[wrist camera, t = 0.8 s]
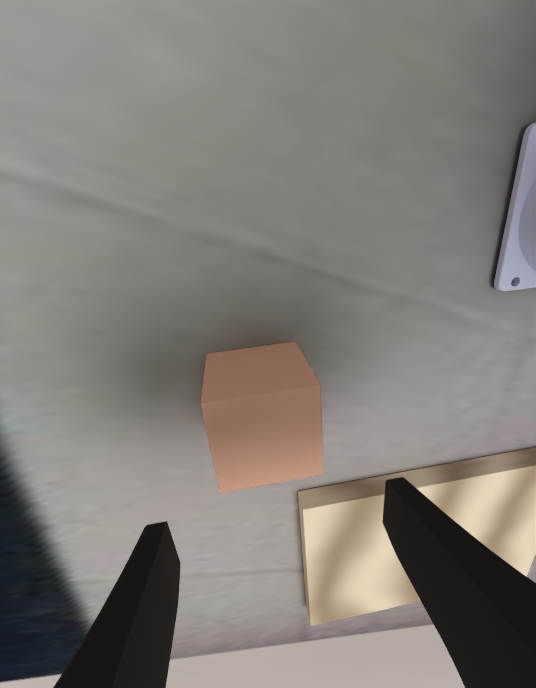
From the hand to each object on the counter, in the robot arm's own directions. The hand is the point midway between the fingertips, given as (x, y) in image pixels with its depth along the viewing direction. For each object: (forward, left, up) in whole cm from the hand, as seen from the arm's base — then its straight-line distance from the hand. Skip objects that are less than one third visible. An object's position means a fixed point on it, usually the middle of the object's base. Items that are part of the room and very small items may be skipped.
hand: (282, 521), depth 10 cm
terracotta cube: (0, 0, -9) cm, 9 cm away
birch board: (-12, +16, -9) cm, 22 cm away
